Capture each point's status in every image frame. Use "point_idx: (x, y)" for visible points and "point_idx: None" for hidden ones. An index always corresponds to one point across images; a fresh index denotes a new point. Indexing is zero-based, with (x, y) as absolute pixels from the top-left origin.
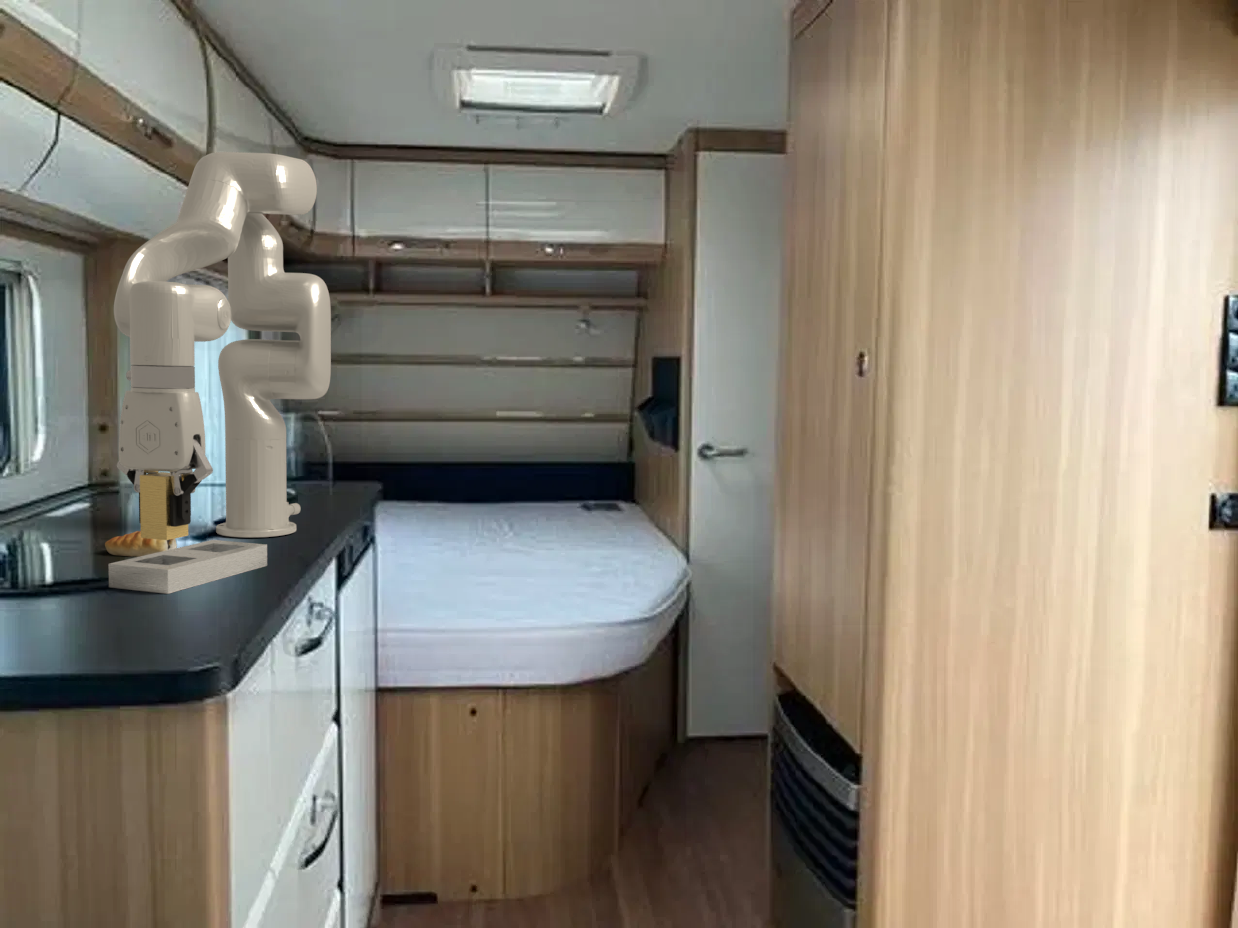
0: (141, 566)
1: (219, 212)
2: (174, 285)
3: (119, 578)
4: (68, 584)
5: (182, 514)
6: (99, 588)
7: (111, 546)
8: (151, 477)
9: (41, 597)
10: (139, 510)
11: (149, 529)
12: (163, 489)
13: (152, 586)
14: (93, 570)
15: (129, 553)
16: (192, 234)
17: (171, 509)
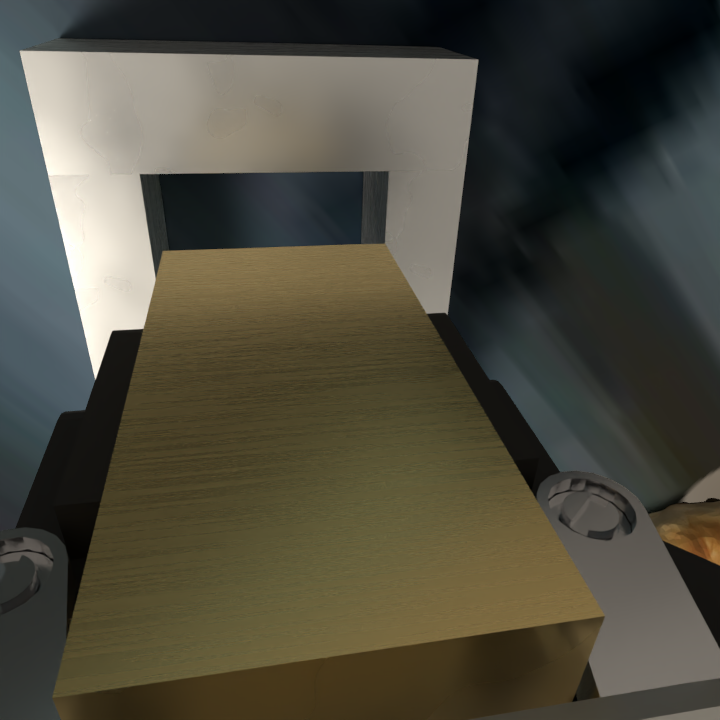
0: (250, 73)
1: None
2: None
3: (384, 50)
4: (650, 26)
5: (57, 428)
6: (467, 8)
7: None
8: (374, 627)
9: None
10: (471, 358)
11: (318, 269)
12: (138, 512)
13: (159, 42)
14: (684, 301)
15: (679, 510)
16: None
17: (108, 400)
